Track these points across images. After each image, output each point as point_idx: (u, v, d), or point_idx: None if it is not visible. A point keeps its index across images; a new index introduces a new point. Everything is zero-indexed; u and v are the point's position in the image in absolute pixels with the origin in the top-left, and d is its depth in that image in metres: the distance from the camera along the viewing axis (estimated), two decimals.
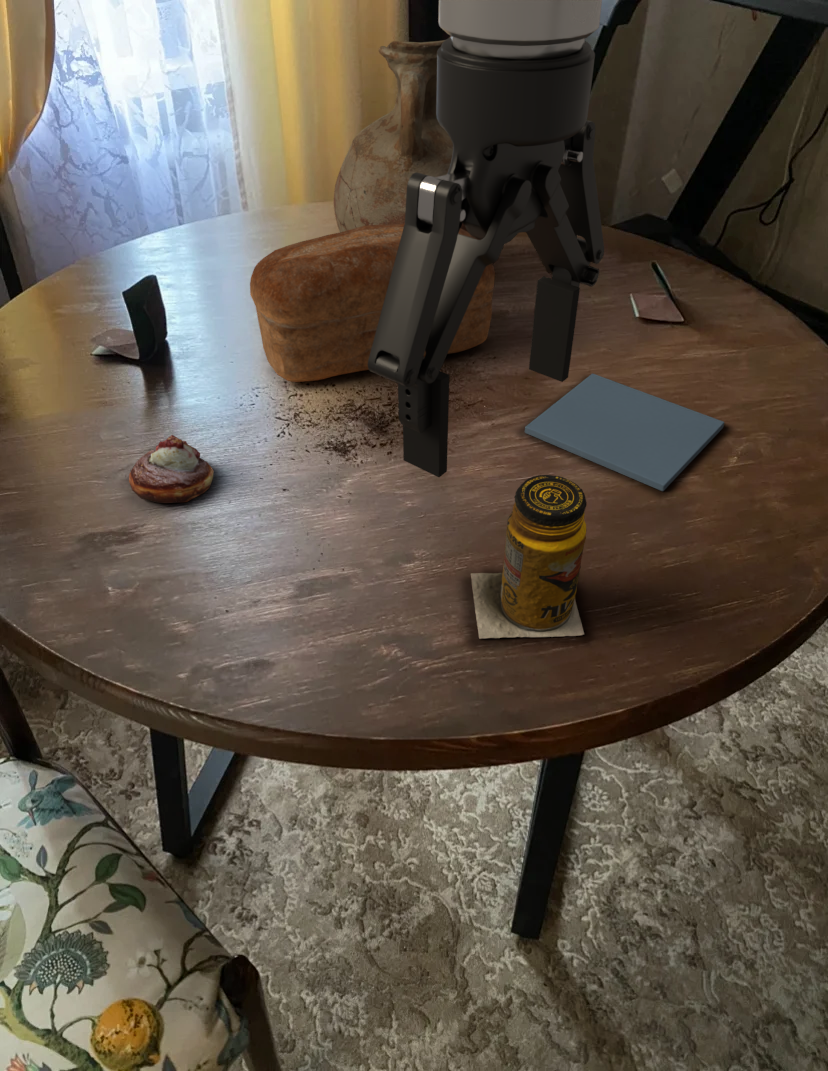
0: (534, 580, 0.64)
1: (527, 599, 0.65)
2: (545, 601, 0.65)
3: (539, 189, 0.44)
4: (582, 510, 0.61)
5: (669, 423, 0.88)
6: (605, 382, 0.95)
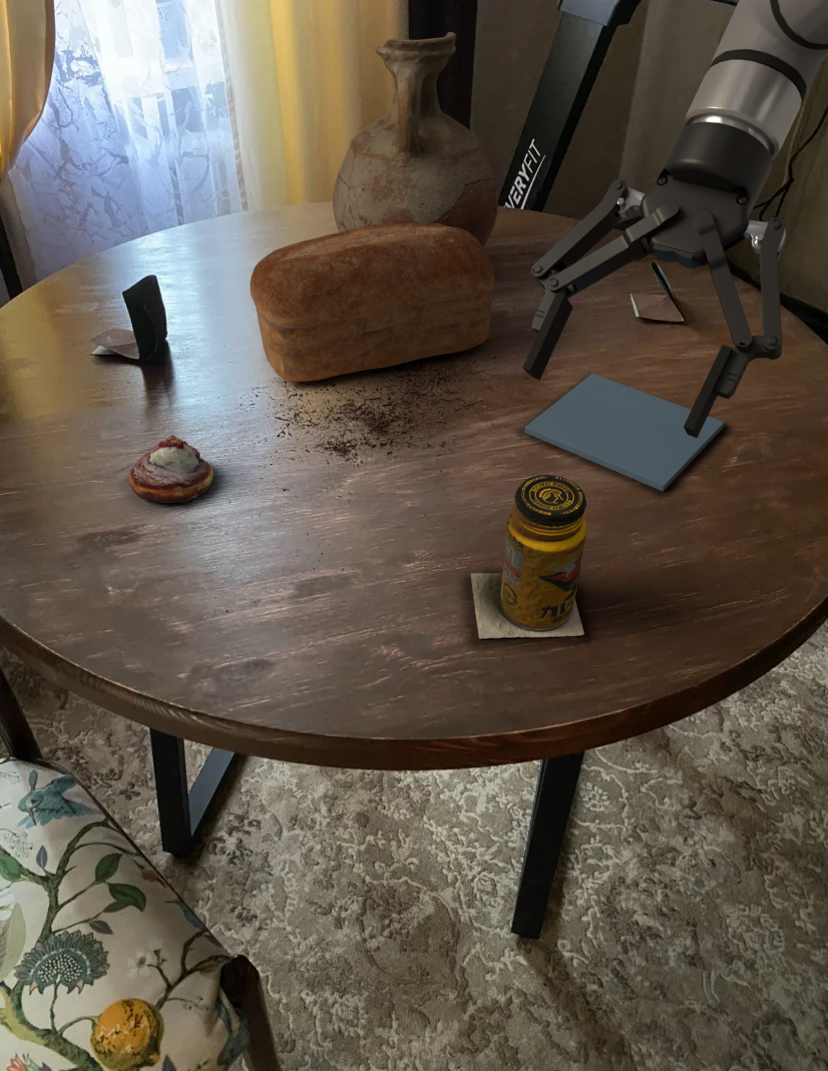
0: (534, 580, 0.64)
1: (527, 599, 0.65)
2: (545, 601, 0.65)
3: (696, 225, 0.63)
4: (582, 510, 0.61)
5: (669, 423, 0.88)
6: (605, 382, 0.95)
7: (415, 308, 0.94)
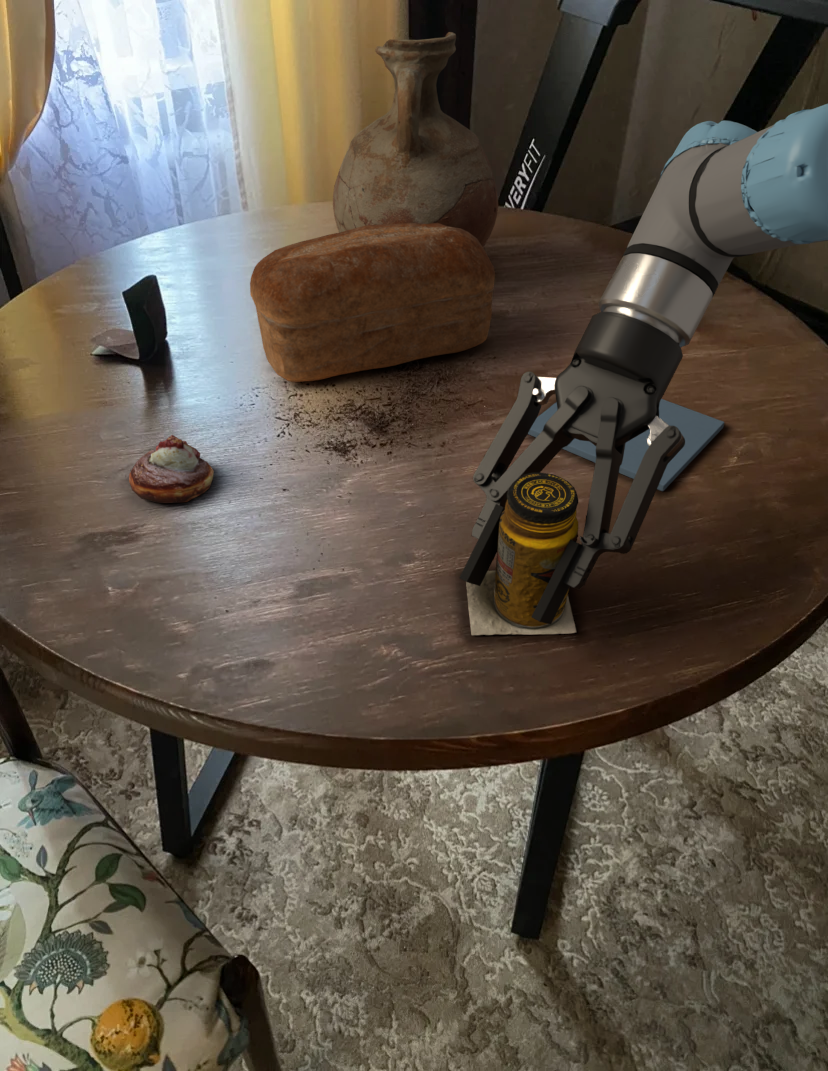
0: (526, 578, 0.64)
1: (519, 597, 0.66)
2: (537, 598, 0.65)
3: None
4: (574, 508, 0.61)
5: (669, 423, 0.88)
6: None
7: (415, 308, 0.94)
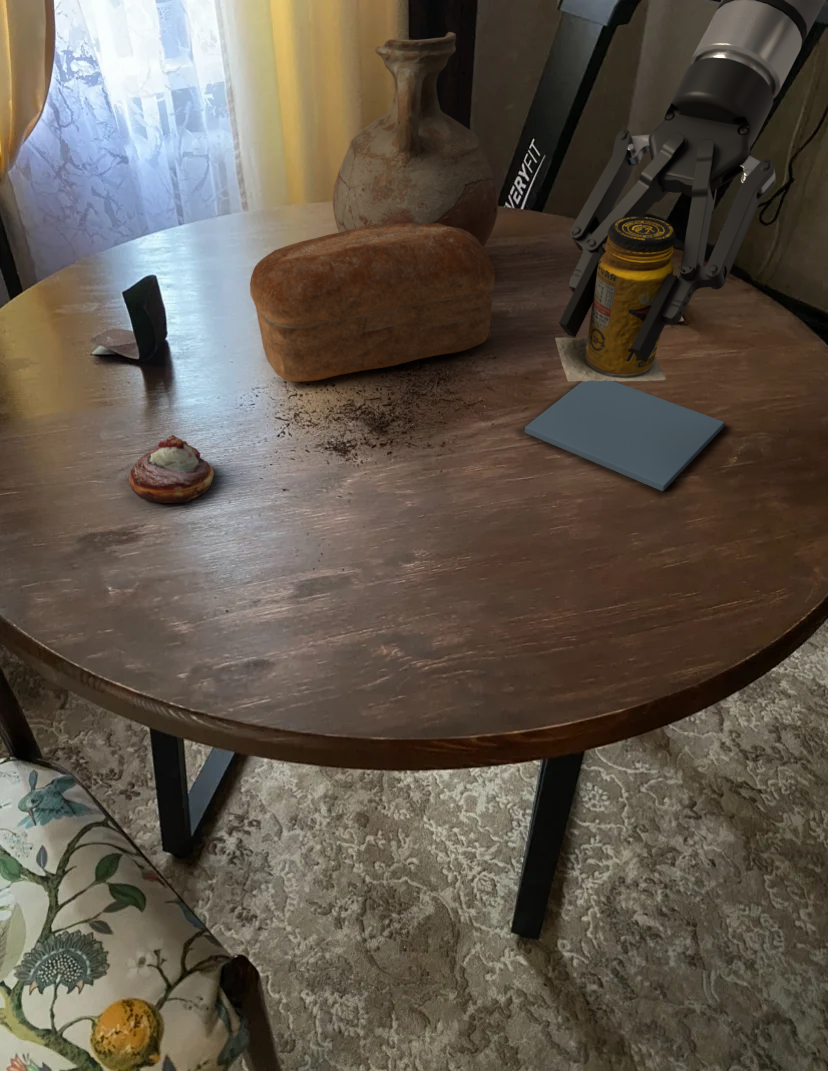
0: (624, 316, 0.68)
1: (615, 340, 0.70)
2: (633, 340, 0.69)
3: None
4: (673, 239, 0.65)
5: (669, 423, 0.88)
6: (605, 382, 0.95)
7: (415, 308, 0.94)
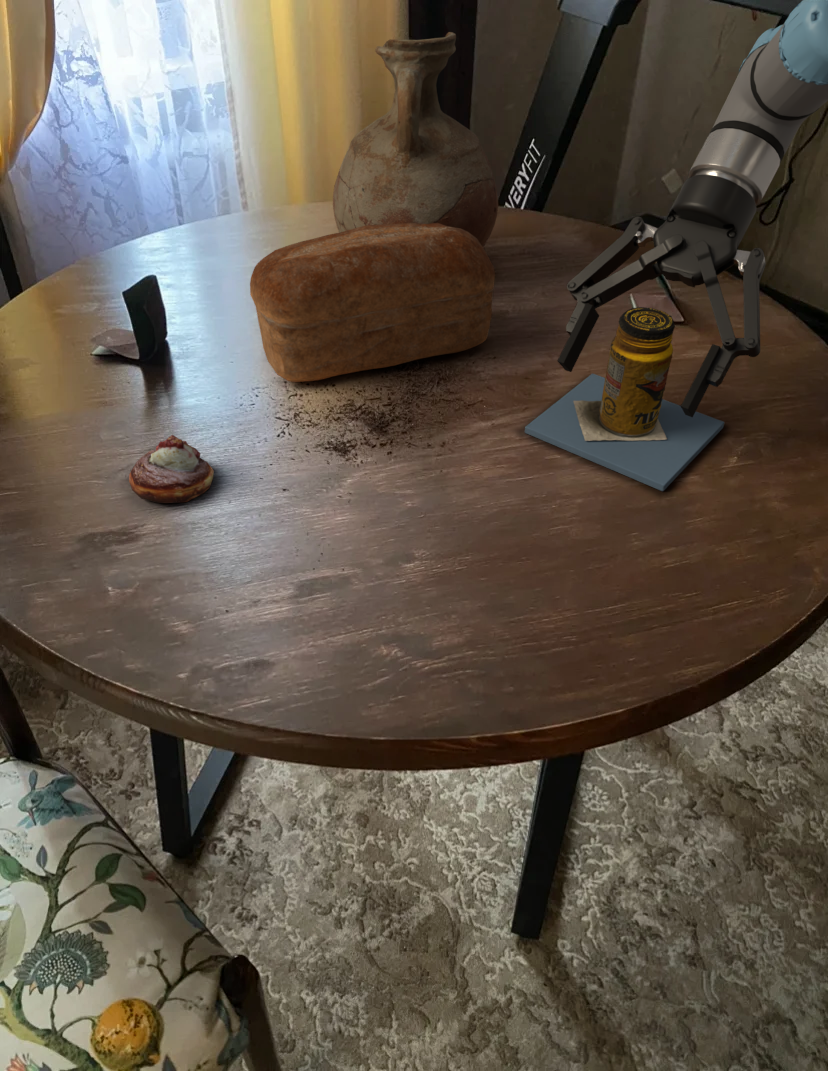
0: (631, 389, 0.83)
1: (624, 407, 0.84)
2: (639, 408, 0.84)
3: (696, 253, 0.81)
4: (672, 329, 0.80)
5: (669, 423, 0.88)
6: None
7: (415, 308, 0.94)
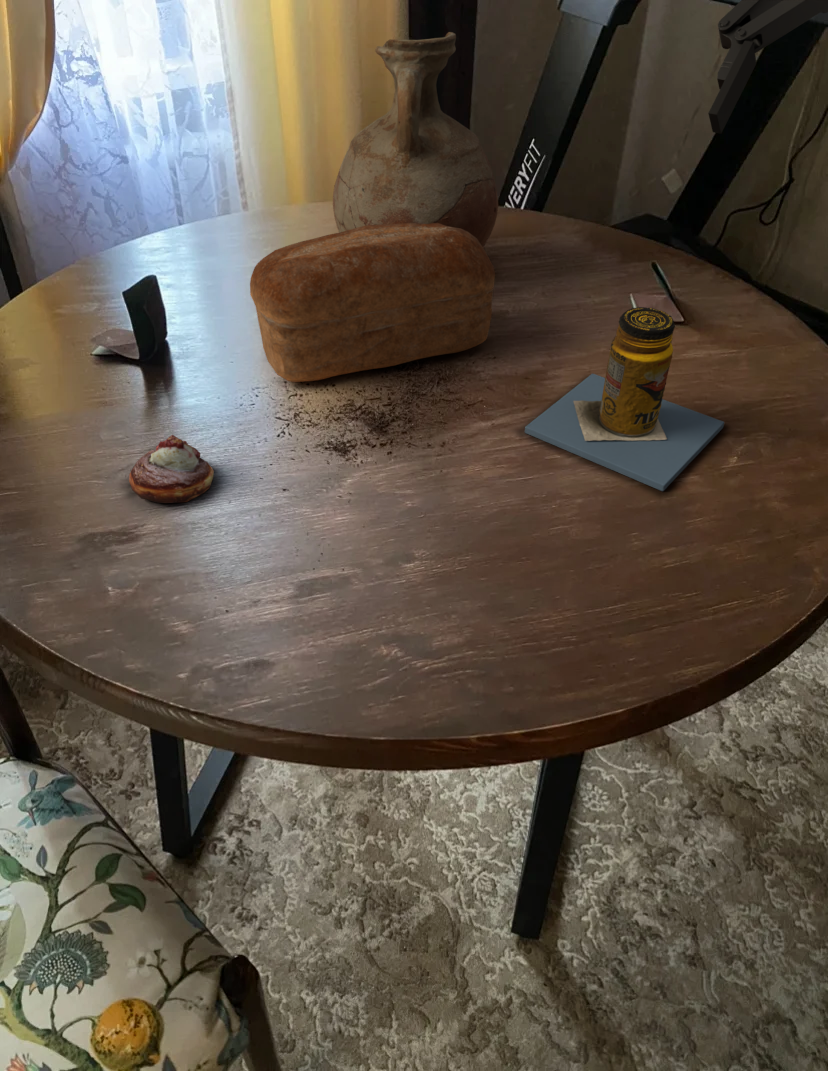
0: (632, 389, 0.83)
1: (624, 407, 0.84)
2: (639, 408, 0.84)
3: None
4: (672, 329, 0.80)
5: (669, 423, 0.88)
6: None
7: (415, 308, 0.94)
